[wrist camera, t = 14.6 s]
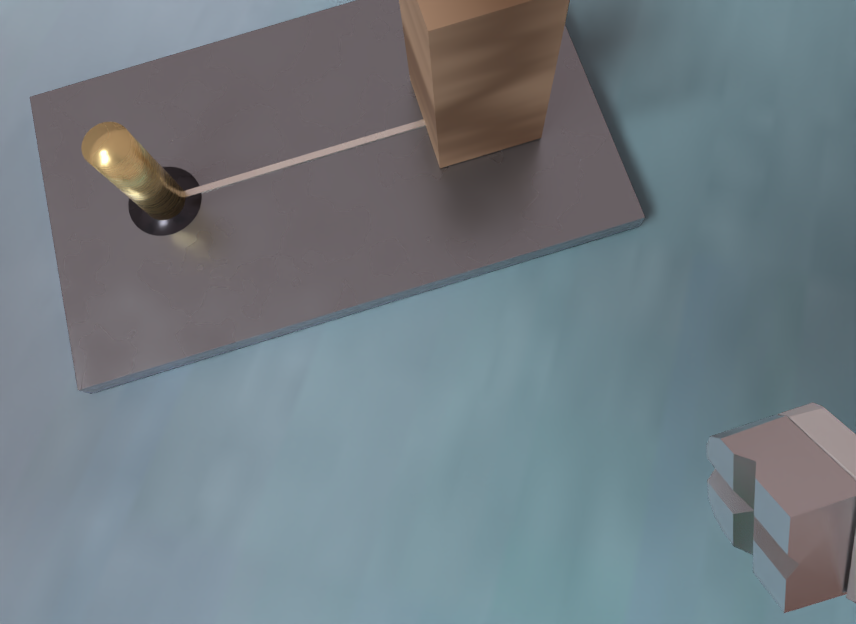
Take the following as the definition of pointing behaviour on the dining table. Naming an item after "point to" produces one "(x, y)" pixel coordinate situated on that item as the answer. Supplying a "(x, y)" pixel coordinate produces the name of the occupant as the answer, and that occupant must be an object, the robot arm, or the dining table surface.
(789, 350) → the dining table surface
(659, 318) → the dining table surface
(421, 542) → the dining table surface
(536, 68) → the walnut peg
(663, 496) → the dining table surface
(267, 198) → the bolt plate
